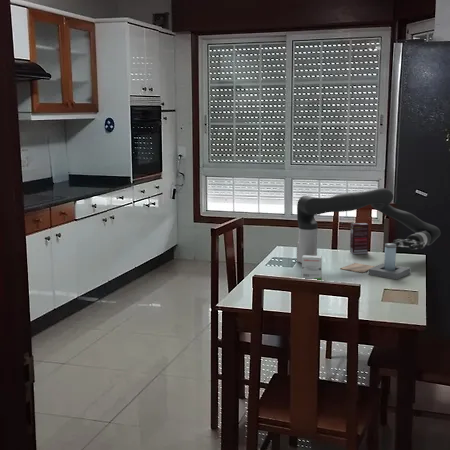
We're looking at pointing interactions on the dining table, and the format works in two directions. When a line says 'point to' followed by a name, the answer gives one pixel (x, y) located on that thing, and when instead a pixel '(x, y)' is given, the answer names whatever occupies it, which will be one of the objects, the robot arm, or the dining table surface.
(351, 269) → the pad
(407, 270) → the frame
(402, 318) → the dining table surface
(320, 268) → the ink box
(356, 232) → the supplement box
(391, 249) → the cylinder
